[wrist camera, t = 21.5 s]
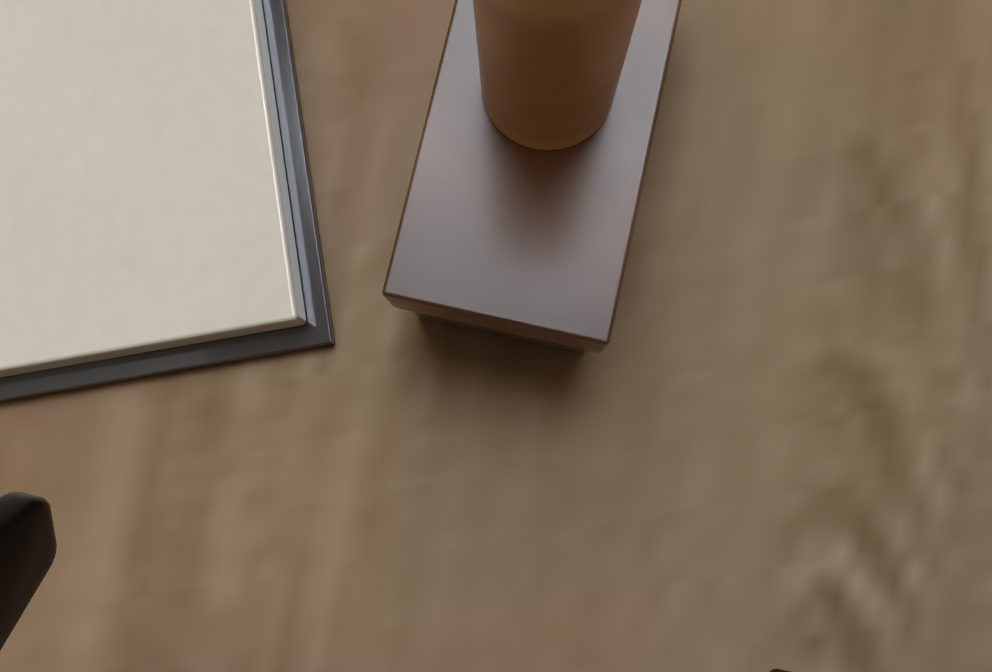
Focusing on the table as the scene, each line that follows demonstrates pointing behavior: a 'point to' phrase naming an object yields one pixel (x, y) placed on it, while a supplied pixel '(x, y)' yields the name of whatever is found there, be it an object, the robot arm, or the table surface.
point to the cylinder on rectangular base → (533, 167)
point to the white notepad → (151, 192)
